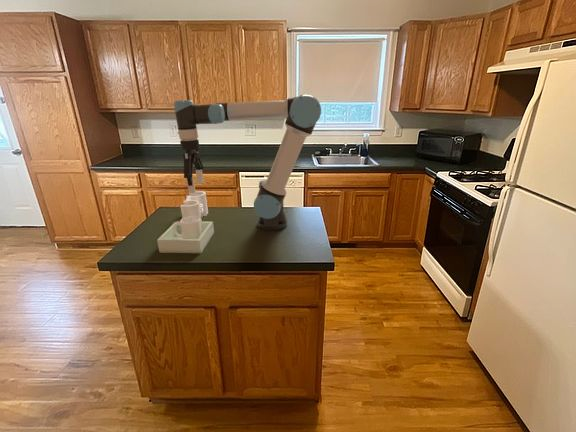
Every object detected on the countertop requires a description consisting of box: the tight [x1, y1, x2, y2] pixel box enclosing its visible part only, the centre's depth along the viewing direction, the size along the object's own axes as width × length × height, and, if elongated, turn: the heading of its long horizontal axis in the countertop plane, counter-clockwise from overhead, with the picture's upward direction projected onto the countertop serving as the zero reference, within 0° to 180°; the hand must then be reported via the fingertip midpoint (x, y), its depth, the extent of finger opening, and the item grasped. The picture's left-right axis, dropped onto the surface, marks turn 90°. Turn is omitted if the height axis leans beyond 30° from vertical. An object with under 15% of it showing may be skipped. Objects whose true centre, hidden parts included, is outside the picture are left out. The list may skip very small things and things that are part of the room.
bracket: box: [179, 190, 209, 221], centre depth 162 cm, size 25×10×12 cm, turn 4°
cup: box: [173, 216, 202, 239], centre depth 137 cm, size 8×12×10 cm
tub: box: [156, 220, 215, 254], centre depth 138 cm, size 18×20×6 cm
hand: (196, 187), depth 137 cm, fingers open, 13 cm apart
